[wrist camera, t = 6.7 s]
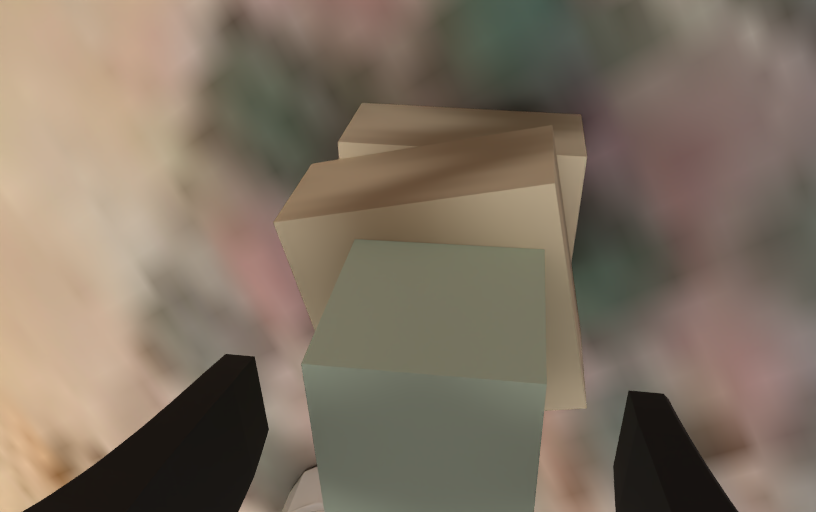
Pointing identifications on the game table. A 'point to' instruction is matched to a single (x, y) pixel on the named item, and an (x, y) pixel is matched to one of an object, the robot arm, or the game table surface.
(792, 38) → the game table surface
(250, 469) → the robot arm
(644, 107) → the game table surface
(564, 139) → the slab lower
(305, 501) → the white cup
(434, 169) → the slab upper
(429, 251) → the cube
